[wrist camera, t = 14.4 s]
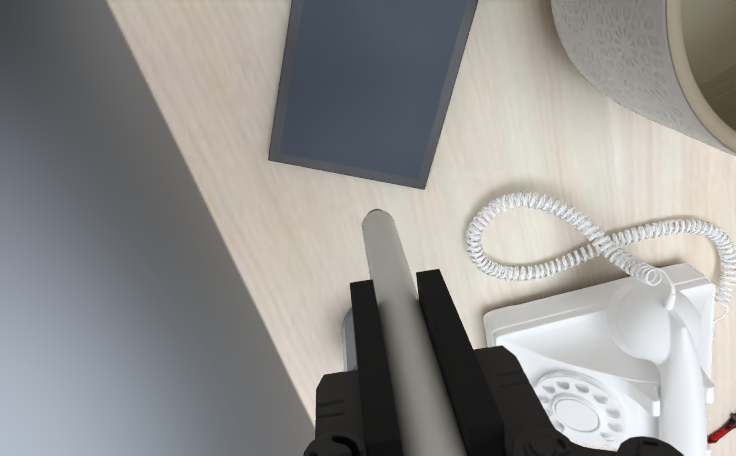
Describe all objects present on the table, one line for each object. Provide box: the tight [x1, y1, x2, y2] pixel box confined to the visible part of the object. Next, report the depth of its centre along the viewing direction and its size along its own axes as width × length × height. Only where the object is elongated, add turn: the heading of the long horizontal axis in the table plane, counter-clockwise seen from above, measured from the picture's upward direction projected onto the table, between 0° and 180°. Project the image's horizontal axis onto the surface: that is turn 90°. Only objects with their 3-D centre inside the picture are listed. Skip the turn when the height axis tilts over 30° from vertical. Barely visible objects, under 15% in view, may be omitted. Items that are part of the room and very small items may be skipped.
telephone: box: [466, 192, 736, 456], centre depth 36 cm, size 25×21×12 cm
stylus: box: [362, 209, 468, 456], centre depth 17 cm, size 2×2×16 cm
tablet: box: [268, 0, 478, 190], centre depth 32 cm, size 11×17×1 cm, turn 167°
